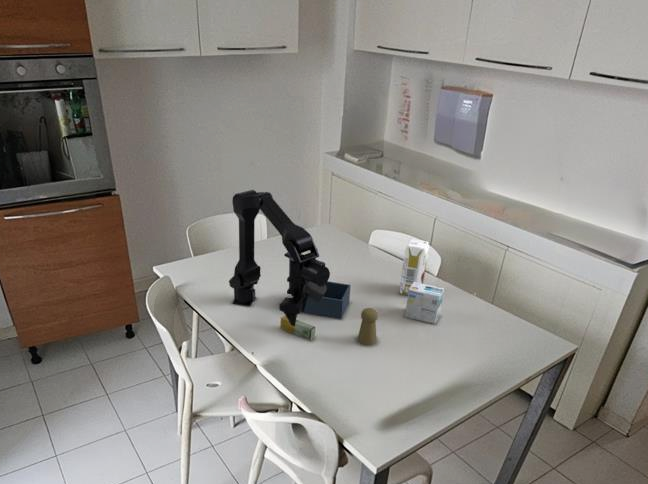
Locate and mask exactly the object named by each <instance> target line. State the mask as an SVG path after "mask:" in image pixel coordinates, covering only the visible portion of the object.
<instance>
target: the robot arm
mask: <svg viewBox="0 0 648 484" xmlns="http://www.w3.org/2000/svg"><path fill="white" fill-rule="evenodd" d="M231 201H232V202H231V203H232V209H233V213H234V215H235V216H236V217H237V219H238V255H239V256H238V257H239V258H238V261H237V263H236V265H235V267H234V270H233V271H234V272H233V276H232V277H231V278H229V280H228V284H229V287H230V288H232V289H233V297H234V300H233V301H232V304H234V305H239V306H245V307H251V305H253V303H254V302H255V301H256V299H257V297H256V288H255V285H258V283H259V280H260V277H261V276H262V275H261V269H262V268H261V266H260V265H258V263H257V262H256V261H255V220H256V218H257V216H258V215H259V213H260V211H261V212H262V214H264V216H265V217H266V218H267V220H268V221H269V222H270V223H271V224H272V226H273V227H274V228H275V230H276V231H277V232H278V233H279V235H280V236H281V242H282V245H283V247H284V248H285V250H286V251H287V252H286V253H284V257H285V258H287V259H288V276H287V278H286V282H287V283H288V289H287V290H286V294H287V295H290V296H291V297H287V296H285V297H284V298H282V300H281V301H280V302H279V306H278V310H279V311H280V312H283V314H284V316H285V315H286V317H287V318H288V320H289V322H290V324H291V326H295V324H296V320H298V315H299V314H301V312H304V309H305V305H306V302H307V299H308V297H310V298H312V299H314V300H315V301H317V302H320V301H321V300H322V298H323V296H324V294H325V292H326V290H327V288H326V287H327V286H325V285H326V283H327V281H329V279H330V276H331V272H330V269H329V267H328V266H326V263H325V262H324V261H321V260H318V259H317V258H319V257H320V254H319V249H318V248H317V246H316V244H315V241H314V239H313V237H312V235H311V234H310V232H308V231H307V230H306V229H305V228H304V227H302V226H300V225H297V224H296V223H294V221H292V219H291V218H290V217H289V216H288V215H287V213H286V212H285V211H284V210H283V209H282V208H281V206H280V205H279V204H278V203H277V202H276V200H275V199H274V197H273V195H272V193H271V192H269V191H256V190H254V189H250V190H246V191H242V192H237V193H234V194H233V197H232V199H231ZM306 252H308V253H306ZM303 253H305V254H303Z"/></svg>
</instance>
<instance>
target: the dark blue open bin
mask: <svg viewBox="0 0 648 484" xmlns="http://www.w3.org/2000/svg"><path fill="white" fill-rule="evenodd" d="M325 286H327V287H326V288H327V290H326V292H325V294H324V296H323V298H322V300H321V301H320V302H317V301H315V300H314V299H312V298H310V297H308V299H307V302H306V305H305V309H304V312H300V314H308V315H313V316H317V317H319V316H320V317H325V318H331V319H335V320H342V319H343V317H344V314H345V313H346V311H347V309H348V307H349V304H350V298H351V286H352V285H351V284H348V283H346V284H345V283H341V282H334V281H330V280H328V281H327V283H326V285H325Z"/></svg>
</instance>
